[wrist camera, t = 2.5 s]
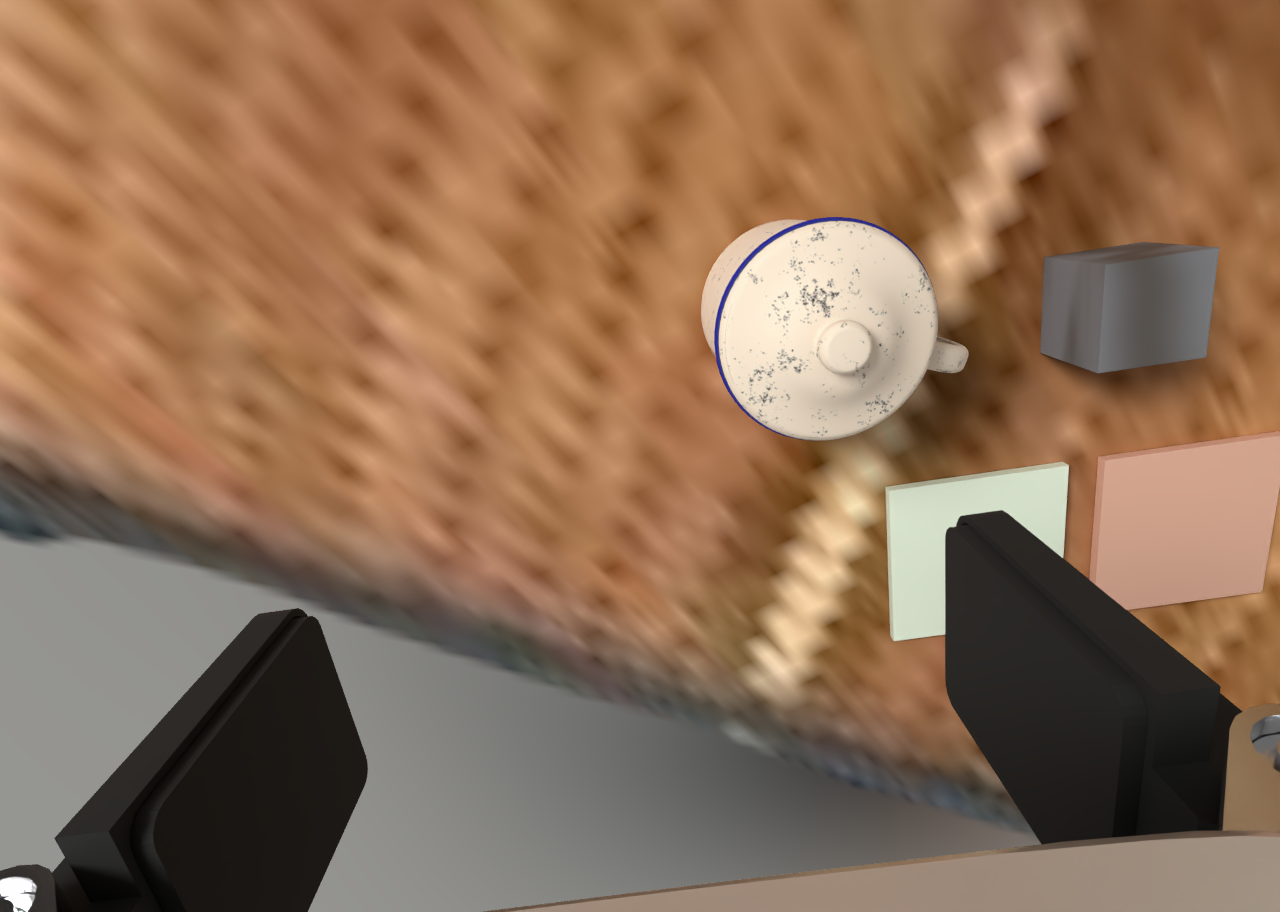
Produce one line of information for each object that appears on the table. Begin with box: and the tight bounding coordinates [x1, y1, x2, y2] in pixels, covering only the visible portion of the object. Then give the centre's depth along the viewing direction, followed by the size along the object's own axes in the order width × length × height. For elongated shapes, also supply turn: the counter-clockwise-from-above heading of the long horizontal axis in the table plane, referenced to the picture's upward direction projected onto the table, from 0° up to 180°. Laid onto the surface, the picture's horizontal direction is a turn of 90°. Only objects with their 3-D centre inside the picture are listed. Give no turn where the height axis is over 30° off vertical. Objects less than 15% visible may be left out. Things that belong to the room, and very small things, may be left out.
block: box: [1040, 242, 1219, 373], centre depth 35 cm, size 5×5×5 cm
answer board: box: [886, 431, 1280, 641], centre depth 41 cm, size 22×10×1 cm, turn 98°
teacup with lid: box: [701, 217, 969, 441], centre depth 32 cm, size 12×9×12 cm
